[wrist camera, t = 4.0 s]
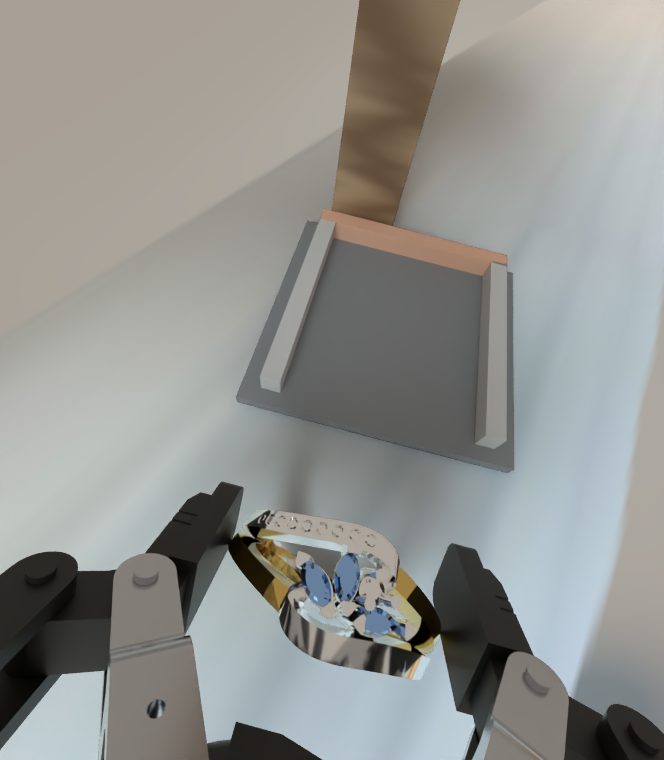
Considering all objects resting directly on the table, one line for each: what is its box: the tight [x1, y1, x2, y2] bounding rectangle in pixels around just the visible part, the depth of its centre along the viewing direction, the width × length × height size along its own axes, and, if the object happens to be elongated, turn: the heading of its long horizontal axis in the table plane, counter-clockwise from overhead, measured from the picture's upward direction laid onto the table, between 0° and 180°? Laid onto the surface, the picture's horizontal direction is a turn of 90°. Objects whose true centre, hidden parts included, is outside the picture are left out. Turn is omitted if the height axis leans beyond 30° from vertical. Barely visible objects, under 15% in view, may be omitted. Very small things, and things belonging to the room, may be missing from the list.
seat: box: [236, 209, 514, 473], centre depth 22 cm, size 14×14×2 cm
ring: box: [228, 510, 441, 680], centre depth 12 cm, size 7×3×8 cm, turn 54°
